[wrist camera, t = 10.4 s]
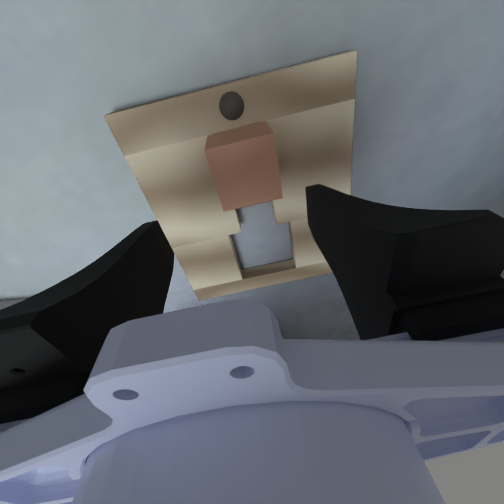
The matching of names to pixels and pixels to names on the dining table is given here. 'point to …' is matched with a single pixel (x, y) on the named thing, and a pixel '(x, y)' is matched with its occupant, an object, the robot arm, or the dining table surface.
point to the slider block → (244, 166)
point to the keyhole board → (201, 180)
